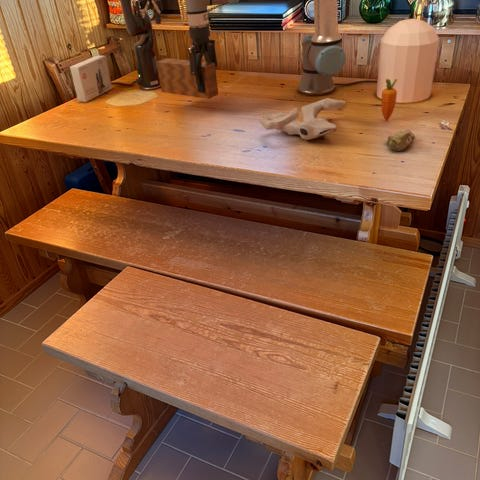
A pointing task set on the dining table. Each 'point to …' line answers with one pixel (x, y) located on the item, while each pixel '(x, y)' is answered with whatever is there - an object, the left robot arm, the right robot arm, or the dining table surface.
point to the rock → (400, 140)
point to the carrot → (388, 99)
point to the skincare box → (91, 78)
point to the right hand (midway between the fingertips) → (206, 89)
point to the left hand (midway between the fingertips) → (151, 26)
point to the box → (186, 78)
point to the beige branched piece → (305, 120)
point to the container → (408, 60)
